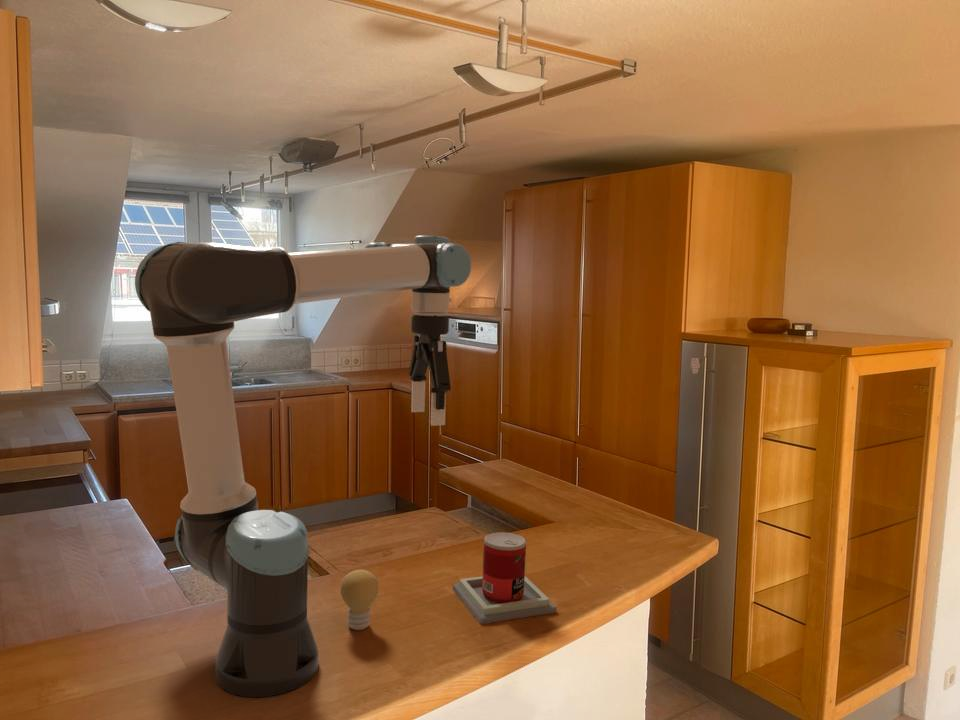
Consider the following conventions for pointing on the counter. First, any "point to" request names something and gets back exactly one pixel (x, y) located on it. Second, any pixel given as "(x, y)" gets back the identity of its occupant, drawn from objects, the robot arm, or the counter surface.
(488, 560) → the canned food
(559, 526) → the counter surface
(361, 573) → the light bulb
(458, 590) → the coaster
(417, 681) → the counter surface
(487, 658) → the counter surface
